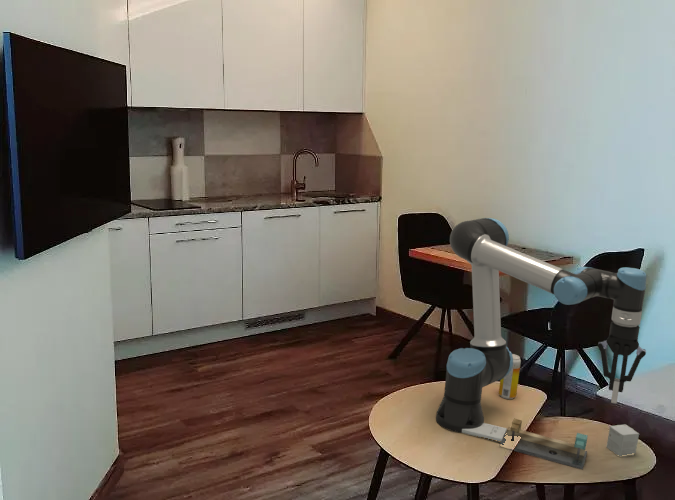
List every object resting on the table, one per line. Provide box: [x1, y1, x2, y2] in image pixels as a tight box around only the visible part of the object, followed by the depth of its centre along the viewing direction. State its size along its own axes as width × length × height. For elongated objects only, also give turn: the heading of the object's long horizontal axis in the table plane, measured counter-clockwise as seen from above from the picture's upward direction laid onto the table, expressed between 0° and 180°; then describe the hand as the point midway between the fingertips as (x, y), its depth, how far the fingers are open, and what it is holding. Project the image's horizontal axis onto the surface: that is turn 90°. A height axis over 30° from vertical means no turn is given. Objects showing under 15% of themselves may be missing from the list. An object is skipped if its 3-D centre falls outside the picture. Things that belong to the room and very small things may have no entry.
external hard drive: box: [461, 422, 508, 442], centre depth 215 cm, size 2×8×12 cm
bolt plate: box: [499, 431, 588, 470], centre depth 207 cm, size 24×10×1 cm, turn 64°
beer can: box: [498, 353, 522, 400], centre depth 242 cm, size 6×6×15 cm
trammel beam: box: [506, 418, 587, 456], centre depth 207 cm, size 23×6×5 cm, turn 64°
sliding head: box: [574, 432, 589, 459], centre depth 203 cm, size 3×6×5 cm, turn 154°
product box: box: [606, 423, 640, 456], centre depth 209 cm, size 6×6×7 cm
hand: (614, 401), depth 198 cm, fingers closed
